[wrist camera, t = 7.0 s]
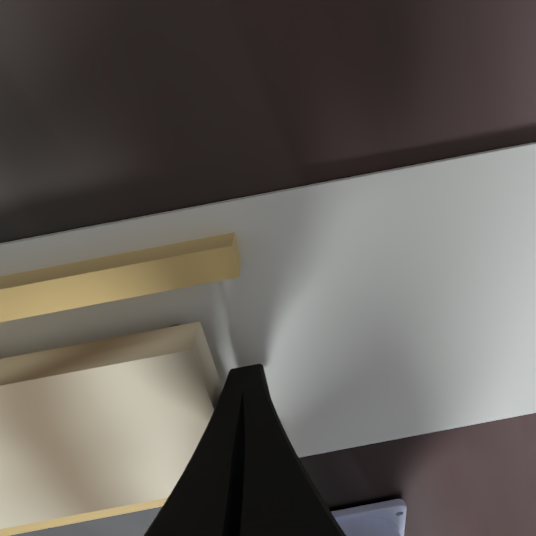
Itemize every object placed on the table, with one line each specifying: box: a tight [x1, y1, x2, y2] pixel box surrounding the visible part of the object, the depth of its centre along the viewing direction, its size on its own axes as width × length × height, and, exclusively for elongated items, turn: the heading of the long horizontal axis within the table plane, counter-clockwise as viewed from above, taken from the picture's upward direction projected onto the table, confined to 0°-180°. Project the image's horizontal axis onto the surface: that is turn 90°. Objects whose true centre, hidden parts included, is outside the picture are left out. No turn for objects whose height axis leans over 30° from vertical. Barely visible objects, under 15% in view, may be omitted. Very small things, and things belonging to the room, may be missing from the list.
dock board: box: [0, 142, 536, 536], centre depth 10 cm, size 14×32×2 cm, turn 100°
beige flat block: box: [0, 322, 223, 529], centre depth 10 cm, size 10×7×2 cm
